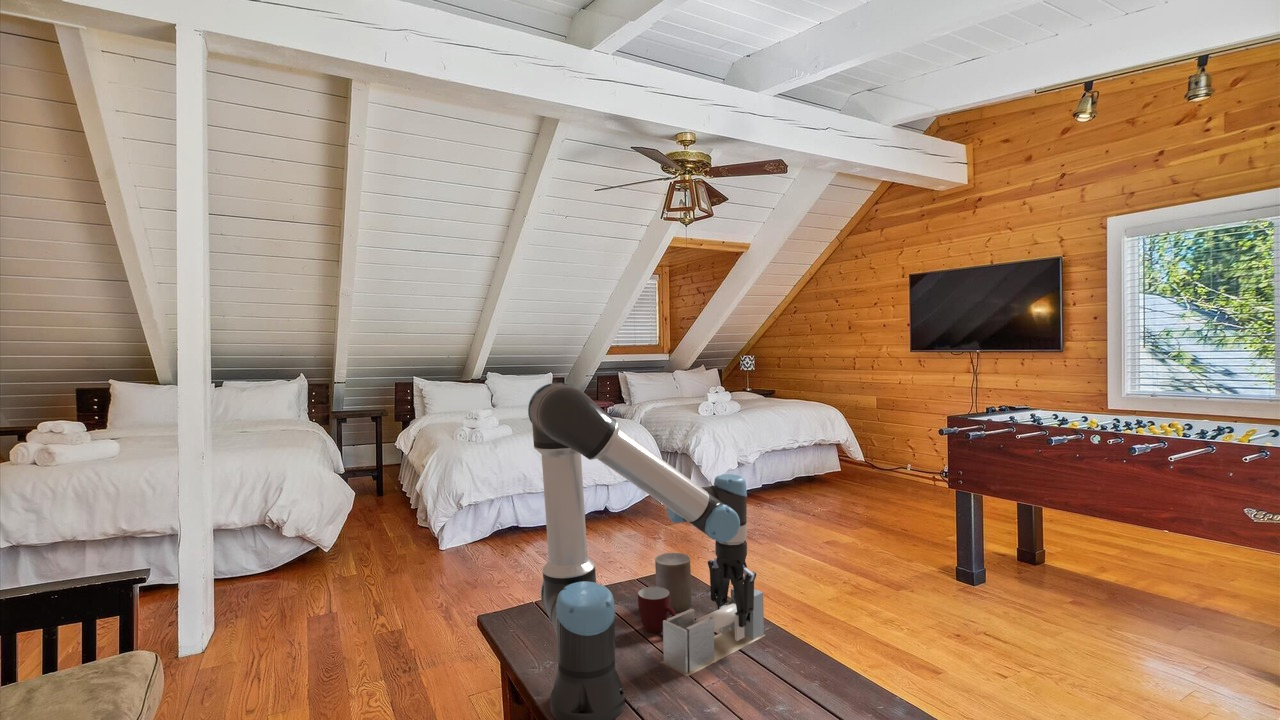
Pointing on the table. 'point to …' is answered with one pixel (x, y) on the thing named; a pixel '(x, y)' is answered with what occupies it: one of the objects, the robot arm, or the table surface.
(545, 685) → the table surface
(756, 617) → the socket block
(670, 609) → the mug
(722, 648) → the base board
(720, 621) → the slip tube
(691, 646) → the grey u-shaped bracket
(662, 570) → the pillar candle
